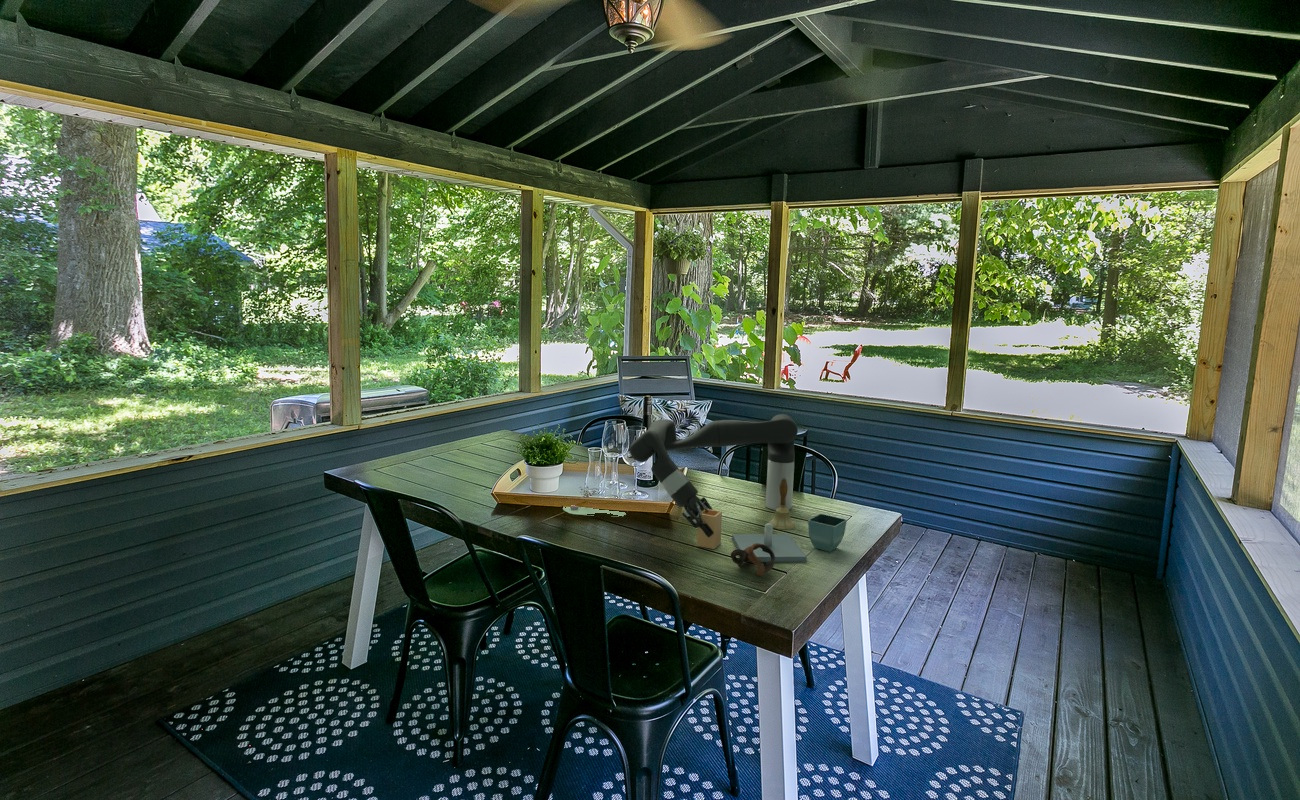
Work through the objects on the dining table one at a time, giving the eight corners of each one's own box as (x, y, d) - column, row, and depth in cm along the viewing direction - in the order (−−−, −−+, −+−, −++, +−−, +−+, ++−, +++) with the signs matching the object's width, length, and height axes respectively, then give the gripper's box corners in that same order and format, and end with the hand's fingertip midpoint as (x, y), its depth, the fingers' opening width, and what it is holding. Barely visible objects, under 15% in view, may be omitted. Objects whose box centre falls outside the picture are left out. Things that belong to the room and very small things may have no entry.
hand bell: (794, 530, 214) (797, 483, 212) (768, 528, 216) (771, 481, 213) (794, 522, 222) (797, 476, 220) (769, 520, 224) (771, 474, 221)
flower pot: (818, 540, 206) (820, 512, 205) (845, 547, 201) (847, 519, 199) (805, 548, 199) (807, 519, 198) (833, 556, 194) (835, 526, 193)
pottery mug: (761, 562, 190) (774, 542, 186) (768, 588, 182) (781, 569, 178) (723, 554, 187) (734, 534, 183) (728, 581, 179) (740, 561, 175)
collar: (696, 545, 199) (697, 513, 198) (703, 539, 204) (704, 508, 202) (714, 549, 197) (715, 516, 195) (720, 543, 202) (722, 511, 200)
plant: (640, 505, 238) (641, 481, 237) (616, 523, 219) (616, 497, 218) (578, 496, 248) (578, 472, 246) (550, 512, 229) (550, 487, 227)
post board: (731, 538, 206) (733, 513, 205) (788, 538, 207) (790, 513, 206) (744, 562, 188) (745, 534, 187) (806, 561, 190) (808, 534, 188)
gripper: (680, 489, 210) (714, 531, 207) (661, 501, 197) (697, 546, 194) (696, 475, 207) (731, 518, 204) (678, 486, 194) (715, 532, 191)
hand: (714, 531), depth 199 cm, fingers closed on collar, 5 cm apart
